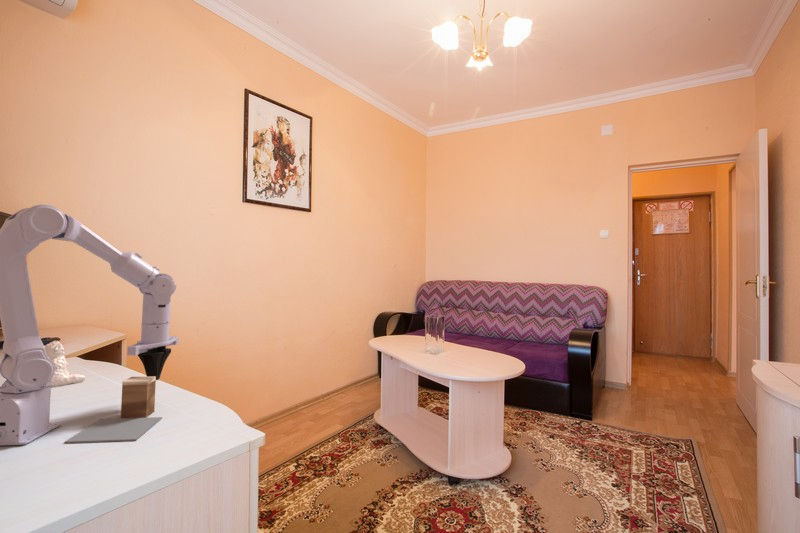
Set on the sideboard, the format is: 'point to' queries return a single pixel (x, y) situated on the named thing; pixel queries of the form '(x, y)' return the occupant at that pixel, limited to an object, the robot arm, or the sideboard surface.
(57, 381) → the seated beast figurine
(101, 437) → the slate rubber mat
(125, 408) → the walnut block
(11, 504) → the sideboard surface
